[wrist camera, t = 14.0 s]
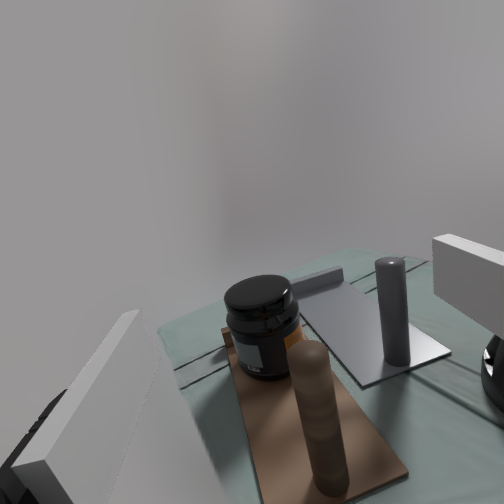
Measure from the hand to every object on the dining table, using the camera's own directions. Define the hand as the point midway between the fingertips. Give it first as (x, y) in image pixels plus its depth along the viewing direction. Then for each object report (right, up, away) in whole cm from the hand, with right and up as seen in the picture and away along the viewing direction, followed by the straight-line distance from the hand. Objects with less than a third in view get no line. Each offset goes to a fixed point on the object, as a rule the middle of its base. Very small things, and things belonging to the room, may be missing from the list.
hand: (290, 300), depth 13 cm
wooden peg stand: (+3, -16, +25) cm, 30 cm away
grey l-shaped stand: (+15, -9, +36) cm, 40 cm away
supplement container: (+2, -14, +30) cm, 34 cm away
